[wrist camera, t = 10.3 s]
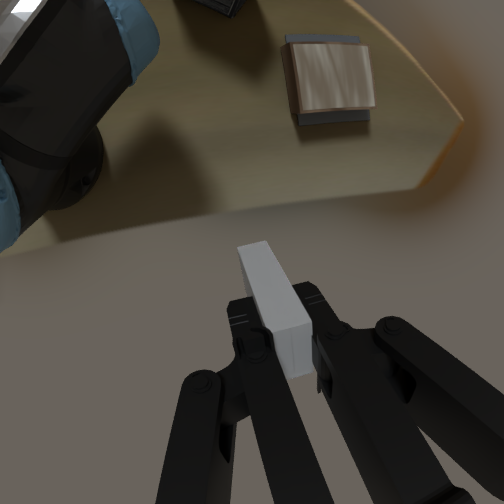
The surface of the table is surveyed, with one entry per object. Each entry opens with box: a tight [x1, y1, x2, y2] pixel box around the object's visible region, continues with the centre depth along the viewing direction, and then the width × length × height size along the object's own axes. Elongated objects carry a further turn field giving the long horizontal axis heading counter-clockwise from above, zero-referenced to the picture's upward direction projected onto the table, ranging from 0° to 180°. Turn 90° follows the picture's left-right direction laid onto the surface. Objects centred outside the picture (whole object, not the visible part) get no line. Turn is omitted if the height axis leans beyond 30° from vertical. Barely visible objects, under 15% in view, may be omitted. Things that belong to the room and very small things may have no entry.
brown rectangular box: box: [281, 41, 377, 114], centre depth 35 cm, size 4×10×12 cm
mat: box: [285, 34, 370, 126], centre depth 37 cm, size 12×14×1 cm
